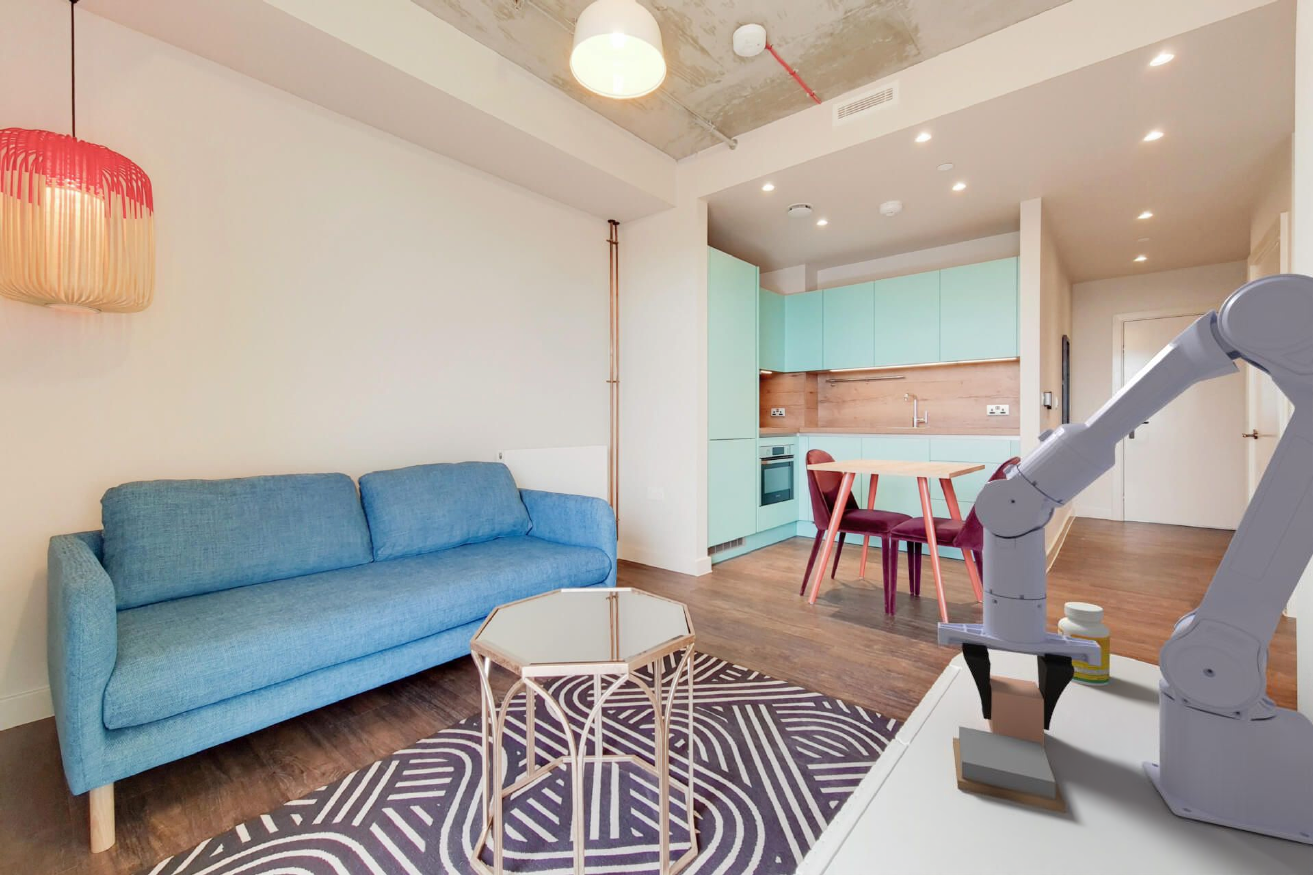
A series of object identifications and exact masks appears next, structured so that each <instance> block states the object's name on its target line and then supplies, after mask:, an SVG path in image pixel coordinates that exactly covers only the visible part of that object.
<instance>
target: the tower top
mask: <svg viewBox="0 0 1313 875" xmlns="http://www.w3.org/2000/svg"><path fill="white" fill-rule="evenodd" d="M958 738H959V747H960V760H961V773H962V778H964V779H969V780H973V781H977V782H981V783H986V784H990V785H994V786H998V787H1003V788H1007V789H1011V790H1015V791H1020V792H1024V793H1028V794H1033V795H1037V796H1041V797H1046V798H1050V799H1054V800H1055V780H1054V777H1055V776H1054V777H1053V774H1054V773H1053V774H1052V772H1053V770H1052V771H1051V769H1052V768H1051V769H1050V767H1051V765H1050V766H1049V764H1050V762H1049V760H1047V759H1048V757H1046V756H1047V754H1046V751H1045V747H1044V748H1043V745H1042V743H1041V742H1036V741H1031V740H1026V739H1021V738H1016V737H1011V736H1006V735H1001V734H996V733H991V731H985V730H980V729H976V728H970V727H966V726H961V725H959V726H958ZM1048 762H1049V763H1048Z"/></svg>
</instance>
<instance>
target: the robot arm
mask: <svg viewBox="0 0 1313 875" xmlns="http://www.w3.org/2000/svg"><path fill="white" fill-rule="evenodd" d="M1237 359H1241V360H1243V361H1244V362H1247V363H1248V364H1249V365H1251V366H1252V367H1255V368H1256V369H1258V370H1260V371H1262V372H1264V373H1265V374H1267V375H1268V376H1270V377H1271V380H1272V382H1274V384H1275V386H1277V388H1278V389H1279V390H1280V391H1281V393H1283V395H1284V396H1285V397H1286V398H1287V399H1288V401H1289V402H1290V403H1291V404H1292V405H1293V407H1294V409H1293V410H1294V411H1293V413H1292V415H1291V417H1290V419H1289V420H1288V423H1287V426H1286V427H1285V429H1284V431H1283V434H1282V435H1281V438H1280V439H1279V441H1278V444H1277V445H1276V447H1275V449H1274V452H1273V454H1272V456H1271V458H1270V460H1269V462H1268V465H1267V466H1266V469H1265V470H1264V473H1263V475H1262V477H1261V479H1260V481H1259V482H1258V484H1257V487H1256V488H1255V491H1254V493H1253V495H1252V497H1251V499H1250V500H1249V501H1250V502H1249V503H1248V506H1247V508H1246V509H1245V511H1244V514H1243V515H1242V518H1241V519H1240V521H1239V525H1238V526H1237V528H1236V530H1235V532H1234V534H1233V536H1232V538H1231V541H1230V543H1229V545H1228V547H1227V549H1226V550H1225V553H1224V555H1223V558H1222V559H1221V562H1220V563H1219V565H1218V566H1217V569H1216V571H1215V574H1214V575H1213V577H1212V580H1211V581H1210V584H1209V585H1208V588H1207V590H1206V592H1205V593H1204V597H1203V598H1202V600H1201V602H1200V603H1199V606H1197V608H1196V609H1194V610H1193V611H1191V612H1189V613H1187V614H1185V615H1183V616H1182V617H1181V618H1180V619H1178V621H1177V622H1176V623H1175V624H1174V627H1173V629H1172V634H1171V636H1170V637H1169V639H1167V640H1166V641H1165V642H1164V643H1163V645H1162V646H1161V648H1160V650H1159V653H1158V666H1159V670H1160V673H1161V675H1162V677H1161V678H1160V679H1159V680H1158V684H1159V685H1158V689H1159V690H1158V691H1159V692H1158V693H1159V696H1158V697H1159V698H1158V700H1159V701H1158V702H1159V703H1158V704H1159V708H1158V709H1159V713H1158V715H1159V722H1158V723H1159V726H1158V728H1159V763H1157V762H1156V763H1155V762H1150V761H1142V762H1141V768H1142V769H1143V770H1144V772H1145V773H1146V774H1147V776H1148V778H1149V780H1150V781H1151V782H1152V783H1153V786H1155V789H1156V790H1157V791H1158V793H1159V794H1160V796H1161V798H1162V799H1163V800H1164V802H1165V803H1166V804H1167V806H1168V808H1169V809H1170V811H1171V812H1172V813H1173V814H1175V815H1176V816H1179V817H1182V818H1186V819H1187V818H1188V819H1192V820H1196V821H1201V822H1205V823H1206V822H1207V823H1211V824H1215V825H1220V826H1225V827H1229V828H1235V829H1237V830H1244V831H1247V832H1253V833H1257V834H1262V835H1266V836H1271V837H1275V838H1280V839H1285V840H1289V841H1293V842H1298V843H1303V844H1309V845H1312V846H1313V723H1312V722H1311V720H1310V719H1309V718H1308V717H1307V716H1306V715H1305V714H1303V713H1301V712H1300V711H1298V710H1295V709H1292V708H1291V709H1290V708H1285V707H1281V706H1277V702H1275V701H1274V699H1272V698H1270V697H1269V695H1268V694H1267V693H1266V691H1267V687H1268V686H1267V683H1268V681H1267V680H1268V679H1267V676H1266V672H1267V671H1266V670H1267V666H1268V665H1269V664H1268V663H1269V661H1270V649H1269V647H1270V644H1271V642H1272V640H1273V637H1274V635H1275V632H1276V629H1277V628H1278V625H1279V622H1280V619H1281V617H1282V614H1283V612H1284V610H1285V609H1286V607H1287V605H1288V602H1289V600H1290V599H1291V597H1292V595H1293V592H1294V591H1295V589H1296V588H1297V586H1298V583H1299V582H1300V580H1301V579H1302V576H1303V574H1304V572H1305V570H1306V569H1307V567H1308V565H1309V563H1310V561H1311V559H1312V558H1313V277H1312V276H1309V275H1307V274H1301V273H1300V274H1298V273H1278V274H1277V273H1276V274H1270V275H1266V276H1262V277H1259V278H1257V279H1254V280H1251V281H1249V282H1247V283H1245V284H1244V285H1242V286H1240V287H1238V288H1237V289H1236V290H1234V291H1233V292H1232V293H1231V294H1230V295H1229V296H1228V297H1227V298H1226V299H1225V300H1224V302H1223V303H1222V305H1221V306H1220V309H1219V310H1218V314H1217V312H1216V310H1215V309H1214V308H1212V309H1211V310H1209V311H1208V312H1206V313H1205V314H1203V315H1202V316H1200V317H1198V318H1197V319H1196V320H1195V321H1194V322H1192V323H1191V324H1190V325H1189V326H1188V327H1186V328H1185V330H1183V331H1182V332H1180V333H1179V334H1178V335H1177V336H1176V337H1175V338H1173V340H1171V341H1170V342H1169V343H1168V344H1167V345H1166V346H1165V347H1164V348H1163V349H1161V350H1160V351H1159V352H1158V353H1157V354H1156V355H1155V356H1153V358H1152V359H1151V360H1150V361H1149V362H1148V363H1146V365H1144V366H1143V367H1142V368H1141V369H1140V370H1139V371H1138V372H1137V373H1136V374H1135V375H1134V376H1133V377H1131V378H1130V379H1129V381H1127V382H1126V383H1125V385H1123V386H1122V387H1121V388H1120V389H1119V390H1118V391H1117V392H1116V393H1115V394H1113V395H1112V396H1111V397H1110V398H1109V399H1108V400H1107V401H1106V402H1105V403H1104V404H1103V405H1102V406H1100V408H1099V409H1097V411H1096V412H1095V413H1093V414H1092V415H1091V416H1090V417H1089V418H1088V419H1087V420H1086V421H1084V422H1083V423H1081V422H1080V423H1062V424H1060V425H1059V426H1058V427H1056V429H1054V430H1053V429H1052V428H1046V429H1045V430H1044V431H1042V432H1041V433H1040V434H1039V435H1038V436H1037V439H1038V440H1039V441H1040V443H1039V444H1038V445H1037V446H1036V447H1034V448H1033V449H1032V450H1031V451H1030V452H1029V453H1028V454H1026V456H1025V457H1023V458H1022V459H1021V460H1020V461H1019V462H1018V463H1017V464H1015V465H1014V464H1008V465H1007V466H1006V467H1005V468H1004V469H1003V470H1002V472H1003V473H1004V474H1005V476H1006V478H1003V479H994V480H991V481H988V482H986V483H985V484H984V486H982V490H980V492H979V493H978V495H976V498H975V502H974V513H975V516H976V518H977V520H978V522H979V523H980V524H981V526H982V527H983V530H982V533H983V534H982V536H983V538H982V539H983V546H982V607H983V608H982V622H983V623H952V622H951V623H950V622H940V621H939V622H937V643H938V644H937V645H939V646H950V645H953V646H954V645H956V646H961V651H962V656H963V658H964V660H965V663H966V666H967V667H968V669H969V671H970V673H971V676H972V678H973V680H974V684H975V686H976V689H977V691H978V694H979V698H980V703H981V714H982V718H983V719H984V720H987V721H988V720H991V700H990V675H991V667H992V666H991V665H992V663H991V660H990V653H989V650H993V651H999V652H1008V653H1013V654H1015V653H1016V654H1023V655H1030V656H1031V655H1032V656H1036V662H1037V664H1036V665H1037V680H1038V681H1037V682H1038V683H1037V686H1038V688H1039V690H1040V693H1041V695H1042V697H1043V699H1044V731H1049V730H1050V726H1051V721H1052V717H1053V715H1054V711H1055V708H1056V706H1057V704H1058V701H1059V699H1060V698H1061V695H1062V694H1063V692H1064V690H1066V687H1067V686H1068V685H1069V683H1070V682H1071V680H1072V678H1073V676H1074V667H1073V665H1072V660H1074V661H1082V662H1087V664H1089V665H1095V666H1101V647H1100V646H1099V645H1098V643H1097V642H1096V641H1092V640H1085V639H1079V638H1073V637H1068V636H1063V635H1058V633H1053V632H1049V631H1047V629H1048V627H1047V626H1048V625H1047V622H1048V621H1047V620H1048V619H1047V617H1048V616H1047V614H1048V613H1047V608H1048V607H1047V606H1048V605H1047V604H1048V603H1047V601H1048V600H1047V551H1046V528H1045V527H1046V526H1047V525H1048V524H1049V523H1050V522H1051V520H1052V519H1053V516H1054V513H1055V509H1057V508H1063V507H1064V506H1065V505H1067V504H1068V503H1069V502H1070V501H1072V499H1074V498H1075V497H1077V496H1078V495H1079V494H1080V493H1081V492H1082V491H1083V492H1084V490H1085V489H1086V488H1088V487H1089V486H1090V485H1092V484H1093V483H1094V482H1095V481H1096V480H1098V479H1099V478H1100V477H1101V476H1102V475H1104V474H1105V473H1106V472H1107V471H1109V470H1110V469H1111V468H1113V467H1114V466H1116V465H1115V464H1116V446H1117V444H1118V443H1120V442H1121V441H1122V440H1123V439H1125V437H1127V436H1128V435H1130V434H1131V433H1132V432H1133V431H1136V429H1138V428H1139V427H1140V426H1141V425H1143V424H1144V423H1145V422H1147V421H1148V420H1149V419H1150V418H1151V417H1153V416H1154V415H1155V414H1157V413H1158V412H1160V411H1161V410H1162V409H1163V408H1164V407H1166V406H1168V404H1170V403H1171V402H1172V401H1173V400H1175V399H1177V398H1178V397H1179V396H1181V395H1182V394H1183V393H1184V392H1186V391H1187V390H1188V389H1189V388H1191V386H1192V387H1193V386H1194V385H1195V384H1197V383H1199V382H1205V381H1207V380H1212V379H1216V378H1219V377H1223V376H1228V375H1232V374H1236V373H1239V372H1240V371H1241V370H1240V368H1238V366H1237V364H1236V362H1235V360H1237Z"/></svg>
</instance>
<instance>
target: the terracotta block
mask: <svg viewBox="0 0 1313 875" xmlns="http://www.w3.org/2000/svg"><path fill="white" fill-rule="evenodd" d="M990 700H991V720H988V719H987V722H988V726H989V730H990V731H989V732H991V733H996V734H1001V735H1006V736H1011V737H1016V738H1021V739H1026V740H1031V741H1036V742H1041V743H1042V745H1043V748H1044V749H1045V730H1044V699H1043V697H1042V695H1041V693H1040V690H1039V685H1038V683H1037V682H1036V681H1032V680H1025V679H1018V678H1011V677H1003V676H997V675H992V674H990Z"/></svg>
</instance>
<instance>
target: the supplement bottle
mask: <svg viewBox="0 0 1313 875" xmlns="http://www.w3.org/2000/svg"><path fill="white" fill-rule="evenodd" d="M1063 611H1064V615H1065V617H1063V618H1061V619H1060V620H1059V621H1058V623H1057V624H1058V625H1057V634H1058V635H1063V636H1068V637H1073V638H1079V639H1085V640H1092V641H1096V642H1097V643H1098V645H1099V646H1100V647H1101V666H1095V665H1089V664H1087V662H1082V661H1074V660H1072V665H1073V667H1074V676H1073V678H1072V680H1071V681H1070V682H1072V683H1075V684H1078V685H1083V686H1084V685H1085V686H1094V687H1100V686H1101V687H1102V686H1106V685H1108V684H1109V683H1110V672H1111V671H1110V669H1111V668H1110V667H1111V666H1110V663H1111V661H1110V660H1111V635H1110V634H1111V633H1110V629H1109V628H1108V626H1106V624H1105V623H1102V621H1103V620H1104V618H1105V614H1104V609H1103V608H1102V606H1099V605H1096V604H1092V603H1087V602H1081V601H1068V602H1064V610H1063Z"/></svg>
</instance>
